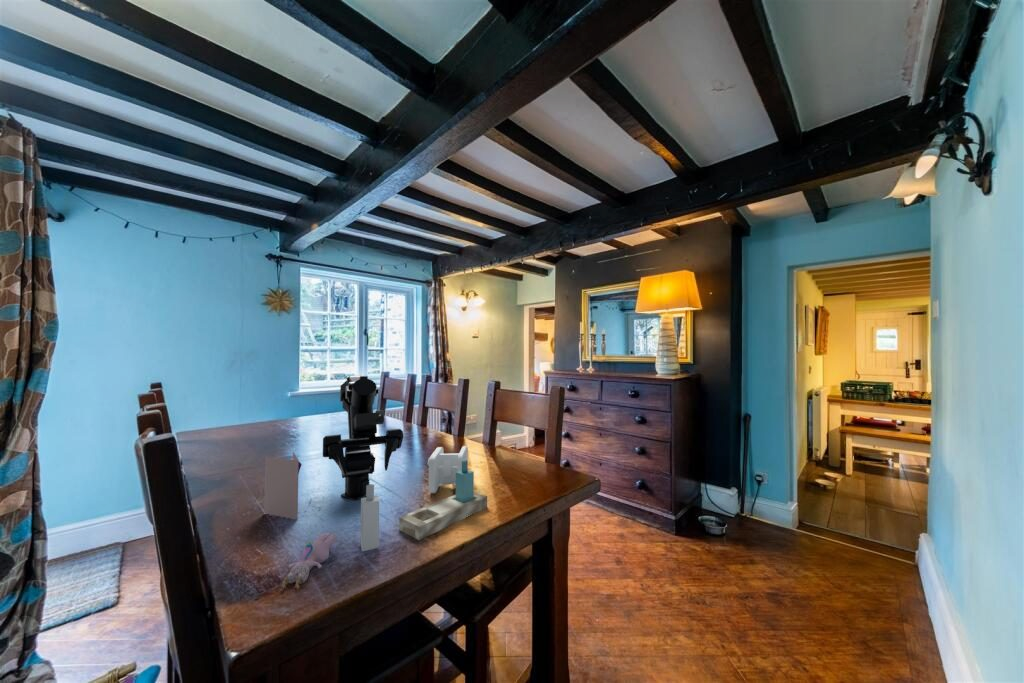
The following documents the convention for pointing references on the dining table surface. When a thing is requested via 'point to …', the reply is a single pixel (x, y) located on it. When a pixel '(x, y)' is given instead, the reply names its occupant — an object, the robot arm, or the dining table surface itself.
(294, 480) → the greeting card
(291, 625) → the dining table surface
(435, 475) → the cable organizer
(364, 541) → the grey plug
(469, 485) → the teal plug
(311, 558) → the pink horned figurine
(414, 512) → the slot rack
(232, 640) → the dining table surface
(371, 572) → the dining table surface
